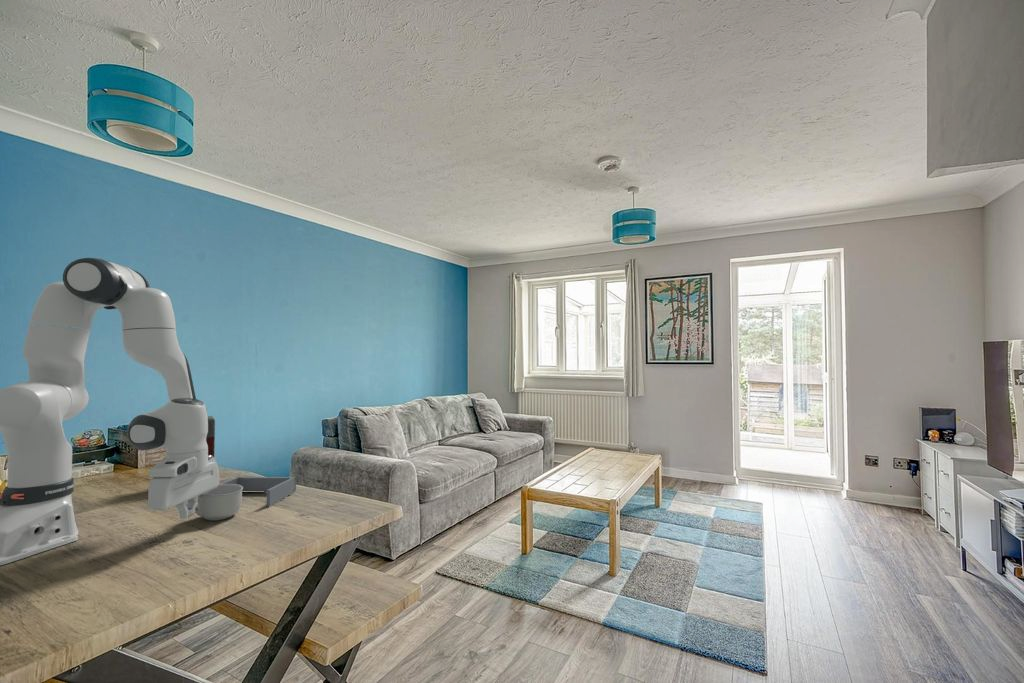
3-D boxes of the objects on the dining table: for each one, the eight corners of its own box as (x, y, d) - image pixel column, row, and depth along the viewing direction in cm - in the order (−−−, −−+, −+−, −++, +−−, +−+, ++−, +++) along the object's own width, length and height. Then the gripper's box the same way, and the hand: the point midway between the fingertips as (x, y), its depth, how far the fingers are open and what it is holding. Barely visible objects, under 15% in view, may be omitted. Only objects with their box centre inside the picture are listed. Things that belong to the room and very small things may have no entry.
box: (269, 507, 137) (269, 490, 137) (204, 506, 138) (205, 489, 138) (295, 492, 152) (295, 477, 152) (237, 491, 153) (237, 476, 153)
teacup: (233, 508, 136) (234, 480, 137) (248, 516, 129) (249, 487, 130) (177, 521, 125) (178, 491, 126) (190, 530, 119) (191, 499, 119)
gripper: (203, 453, 128) (203, 503, 128) (142, 472, 108) (142, 531, 107) (226, 453, 128) (225, 503, 127) (168, 471, 107) (168, 531, 107)
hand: (187, 516), depth 117 cm, fingers closed
